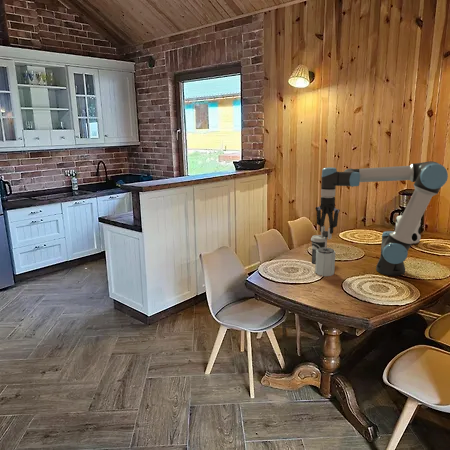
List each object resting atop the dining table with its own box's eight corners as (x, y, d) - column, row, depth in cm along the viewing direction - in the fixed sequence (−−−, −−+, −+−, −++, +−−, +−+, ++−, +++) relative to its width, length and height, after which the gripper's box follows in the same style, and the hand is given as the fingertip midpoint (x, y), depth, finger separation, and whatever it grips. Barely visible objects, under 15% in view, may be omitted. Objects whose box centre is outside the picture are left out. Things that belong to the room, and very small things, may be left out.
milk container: (390, 243, 268) (392, 218, 264) (395, 237, 282) (397, 213, 278) (417, 247, 259) (420, 221, 254) (421, 241, 272) (424, 216, 268)
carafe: (336, 272, 218) (337, 249, 215) (328, 277, 211) (329, 253, 208) (316, 267, 227) (317, 245, 224) (307, 272, 220) (308, 249, 217)
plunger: (333, 261, 217) (335, 231, 212) (327, 265, 212) (329, 234, 208) (322, 259, 221) (323, 229, 217) (316, 262, 216) (317, 232, 212)
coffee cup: (326, 262, 234) (327, 239, 230) (310, 262, 236) (310, 238, 232) (325, 257, 243) (326, 234, 239) (310, 257, 245) (310, 234, 241)
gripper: (345, 197, 205) (343, 239, 210) (317, 194, 216) (316, 234, 221) (339, 199, 199) (336, 242, 205) (310, 196, 210) (309, 237, 216)
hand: (326, 238), depth 213 cm, fingers closed on plunger, 4 cm apart
